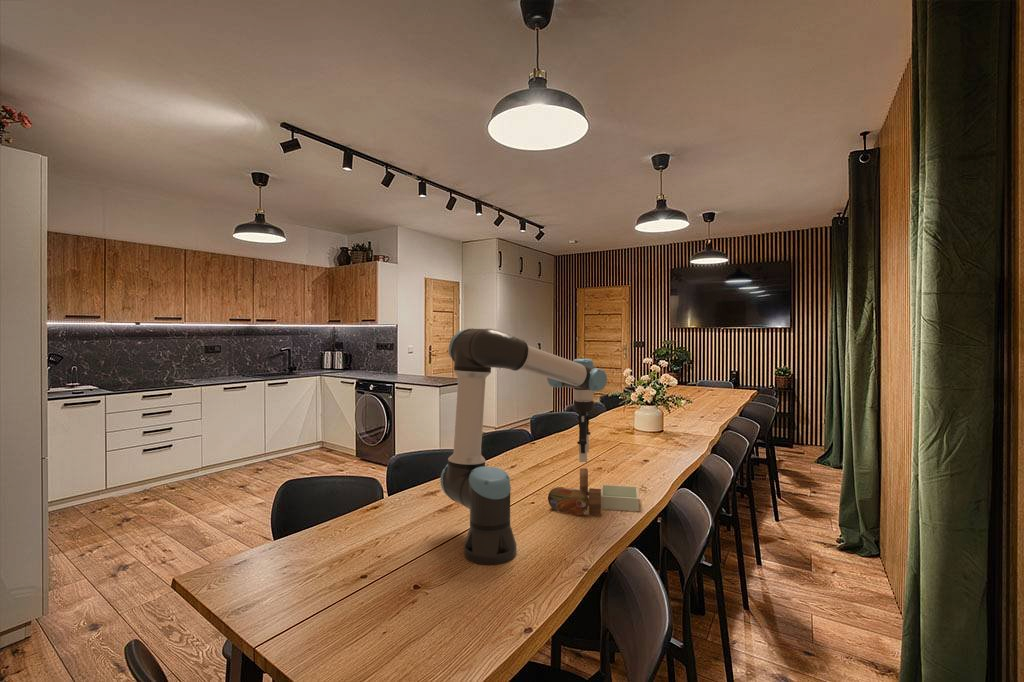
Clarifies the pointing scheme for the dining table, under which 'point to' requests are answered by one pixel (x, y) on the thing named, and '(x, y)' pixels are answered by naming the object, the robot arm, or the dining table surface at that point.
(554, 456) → the dining table surface
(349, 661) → the dining table surface
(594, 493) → the wooden block
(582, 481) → the dowel
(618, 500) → the tray
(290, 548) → the dining table surface
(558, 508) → the tin
